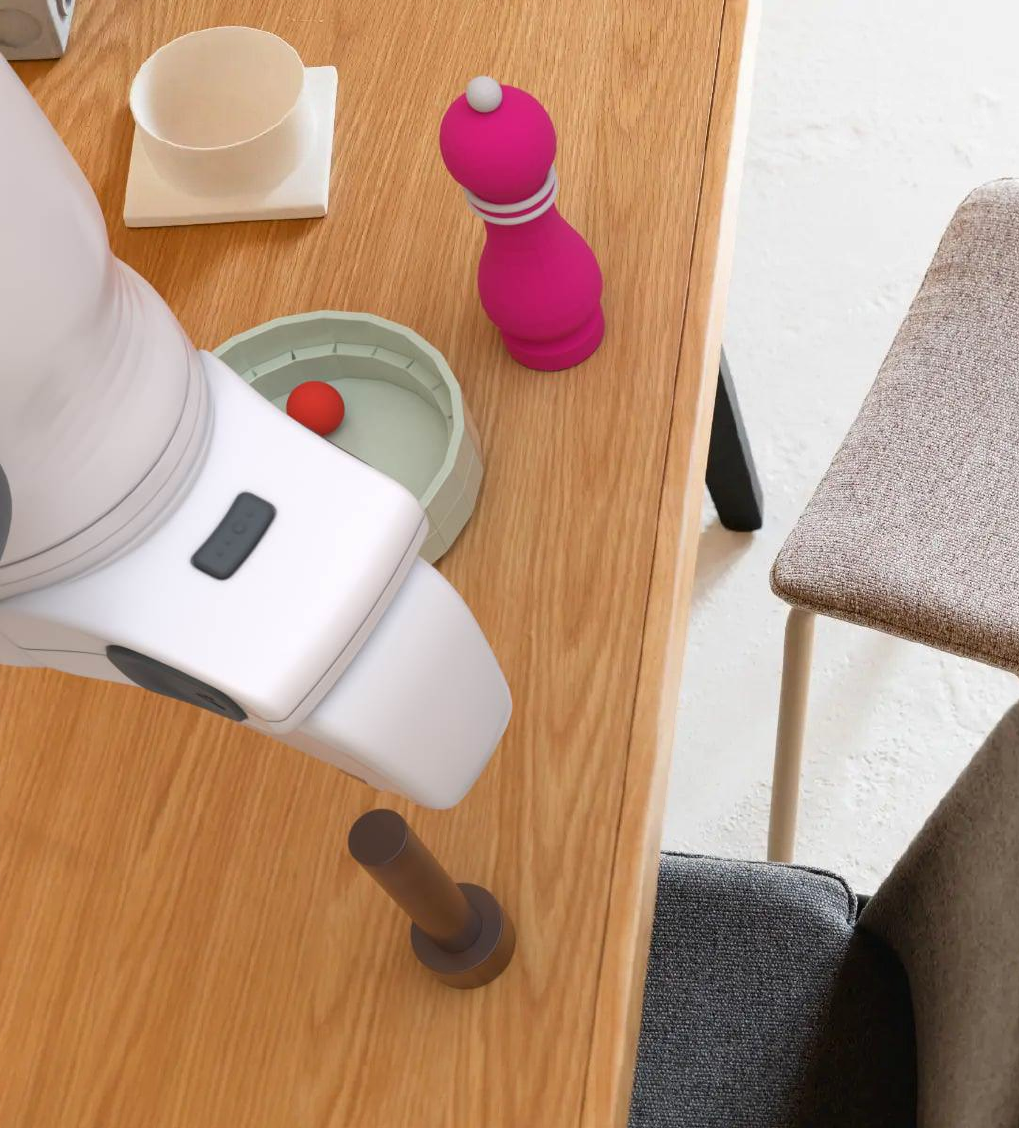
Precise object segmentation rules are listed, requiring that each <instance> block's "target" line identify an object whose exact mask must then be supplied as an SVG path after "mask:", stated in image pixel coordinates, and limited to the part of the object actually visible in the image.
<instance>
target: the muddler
mask: <svg viewBox="0 0 1019 1128" xmlns="http://www.w3.org/2000/svg"><path fill="white" fill-rule="evenodd" d="M347 848H348V850H349V853H350V855H351V856H352V858H353V859H354V861H356V863H358V864H359V866H361V867H362V868H363V870H364V871H365V872H366V873H367V874H368V875H369V876H370V877H371V878H372V879H373V880H374V881H375V882H376V883H377V884H378V885H379V887H381V888H382V890H383V891H384V892H385V893H386V894H387V895H388V896H389V898H391V899H392V900H393V902H395V904H397V906H398V907H399V908H400V909H401V910H402V911H403V912H404V913H405V914H406V915H407V916H408V917H409V919H411V925H410V932H409V933H410V935H409V936H410V944H411V948H412V950H413V952H414V955H415V956H416V958H417V959H418V961H419V962H420V963H421V964H422V965H423V966H424V967H425V968H426V969H427V970H428V971H429V972H430V973H431V974H432V975H433V976H434V977H435V978H436V979H437V980H438V981H440V982H441V983H443V984H444V985H445V986H448V987H451V988H455V989H457V990H458V989H459V990H473V989H478V988H480V987H483V986H485V985H488V984H490V983H491V982H493V981H494V980H496V979H497V978H498V977H499V976H500V975H501V974H502V973H503V972H504V971H505V970H506V968H507V967H508V965H509V964H510V962H511V961H512V958H513V956H514V953H515V948H516V940H517V938H516V937H517V936H516V929H515V926H514V923H513V921H512V919H511V917H510V916H509V914H508V913H507V912H506V911H505V909H504V908H503V907H502V906H501V904H500V902H499V901H498V900H497V899H496V897H495V895H493V894H492V893H491V892H490V891H489V890H487V889H486V888H484V887H483V886H480V885H477V884H475V883H470V882H455V880H453V879H452V877H451V876H450V874H449V873H448V872H447V871H446V869H444V867H443V866H442V864H441V863H440V862H439V861H438V860H437V858H436V857H435V856H434V854H432V852H431V851H430V850H429V848H428V847H427V846H426V845H425V843H424V842H423V841H422V839H421V838H420V837H419V835H418V834H417V833H416V832H415V831H414V829H413V828H412V827H411V826H410V824H409V823H408V822H407V821H406V819H405V818H404V817H403V815H401V814H400V813H398V812H397V811H395V810H394V809H390V808H377V809H372V810H369V811H367V812H365V813H364V814H362V815H361V816H360V817H359V818H358V819H356V821H354V823H352V826H351V828H350V830H349V832H348V837H347Z"/></svg>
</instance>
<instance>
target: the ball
mask: <svg viewBox="0 0 1019 1128" xmlns="http://www.w3.org/2000/svg"><path fill="white" fill-rule="evenodd" d="M286 412H287V415H288V416H290V417H291V418H293V419H294V420H296V421H298V422H300V423H302V424H303V425H305V426H307V427H308V428H310V429H311V430H313V431H315V432H316V433H318V434H319V435H321V436H324V435H327V434H329V433H331V432H333V431H334V430H336V429H337V428H338V427H339V425H340V424H341V422H342V420H343V418H344V413H345V406H344V401H343V399H342V397H341V395H340V394H339V392H338V391H337V390H336V389H335V388H334V387H332V386H331V385H329V384H327V383H324V382H320V381H309V382H305V383H302V384H300V385H299V386H297V387H296V388H295V389H294V390H293V391H292V392H291V393H290V395H289V397H288V400H287V404H286Z"/></svg>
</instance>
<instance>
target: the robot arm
mask: <svg viewBox="0 0 1019 1128" xmlns="http://www.w3.org/2000/svg"><path fill="white" fill-rule="evenodd" d="M211 352H212V351H209V350H207V349H203V348H201V349H198V350H197V348H196V346H195V345H194V344H193V342H192V341H191V339H190V338H189V336H188V334H187V333H186V331H185V329H184V328H183V326H182V325H181V323H180V322H179V320H178V318H177V317H176V315H175V314H174V313H173V311H172V309H171V308H170V306H169V304H168V303H167V302H166V301H165V299H164V298H163V297H162V296H161V294H159V292H158V291H157V290H156V289H155V288H154V287H153V286H152V284H150V282H148V280H146V279H145V278H144V277H143V276H142V275H141V274H140V273H138V272H137V271H136V270H135V269H133V268H132V267H131V266H130V265H129V264H128V263H125V262H124V261H123V260H121V259H120V258H119V257H117V256H116V255H115V254H114V253H113V251H112V249H111V246H110V240H109V235H108V231H107V224H106V221H105V218H104V214H103V211H102V208H101V205H100V203H99V201H98V198H97V196H96V194H95V191H94V188H92V186H91V184H90V182H89V180H88V179H87V177H86V175H85V173H84V172H83V170H82V169H81V166H79V164H78V162H77V161H76V160H75V158H74V156H73V155H72V153H71V152H70V150H69V149H68V147H67V146H66V144H65V142H64V141H63V139H62V138H61V136H60V135H59V134H58V132H57V131H56V129H55V128H54V126H53V124H52V123H51V121H50V120H49V118H48V117H47V116H46V114H45V112H44V111H43V110H42V108H41V107H40V106H39V104H38V102H37V101H36V99H35V98H34V97H33V95H32V94H31V93H30V91H29V89H28V88H27V86H26V85H25V84H24V82H23V81H22V79H21V78H20V77H19V75H18V73H16V71H15V70H14V69H13V67H12V66H11V64H10V63H9V62H8V60H7V59H6V58H5V56H4V54H3V53H2V52H1V51H0V665H4V666H9V667H10V666H11V667H18V668H31V669H32V668H33V669H34V668H49V669H52V670H56V671H59V672H62V673H65V674H70V675H73V676H78V677H82V678H88V679H92V680H99V681H104V682H105V681H106V682H110V683H111V682H112V683H116V684H123V685H128V686H132V687H137V688H141V689H144V690H146V691H149V692H152V693H154V694H157V695H160V696H164V697H167V698H170V699H174V700H177V701H179V702H183V703H186V704H189V705H193V706H195V707H197V708H200V709H203V710H206V711H209V712H211V713H213V714H215V715H216V714H217V715H218V716H221V717H223V718H225V719H228V720H231V721H233V722H235V723H237V724H239V725H241V726H244V727H246V728H248V729H251V730H252V731H255V732H256V733H260V734H262V735H264V736H266V737H268V738H270V739H273V740H276V742H279V743H281V744H283V745H285V746H288V747H290V748H293V749H295V750H296V751H300V752H301V753H304V754H306V755H308V756H310V757H313V758H314V759H316V760H319V761H321V762H324V763H326V764H328V765H331V766H333V767H335V768H336V769H338V770H339V769H340V772H341V773H342V774H344V775H345V776H348V777H350V778H352V779H354V780H356V781H358V782H361V783H362V784H365V785H367V786H370V787H372V788H373V789H375V790H377V791H380V792H386V791H388V792H389V793H390V792H391V793H393V794H395V795H397V796H399V797H402V798H403V799H405V800H407V801H409V802H411V803H412V804H415V805H417V806H419V807H422V808H424V809H427V810H431V811H444V810H450V809H453V808H454V807H456V806H457V805H458V804H459V803H461V802H462V800H463V799H464V798H465V797H467V795H468V793H469V792H470V790H471V789H472V788H473V786H474V784H476V782H477V780H478V779H479V777H480V776H481V775H482V773H483V771H484V770H485V768H486V766H487V765H488V763H489V762H490V759H491V758H492V756H493V754H494V753H495V751H496V749H497V747H498V746H499V743H500V741H501V739H502V738H503V736H504V734H505V732H506V730H507V728H508V725H509V722H510V720H511V717H512V712H513V697H512V695H511V690H510V687H509V685H508V682H507V680H506V677H505V675H504V673H503V671H502V668H501V666H500V664H499V661H498V659H497V658H496V656H495V653H494V651H493V649H492V648H491V645H490V644H489V642H488V639H487V638H486V636H485V634H484V632H483V630H482V629H481V626H480V625H479V623H478V621H477V619H476V618H475V616H474V614H473V612H472V610H471V609H470V607H469V606H468V605H467V603H466V602H465V600H464V598H463V597H462V596H461V594H459V592H458V591H457V590H456V588H455V587H454V585H452V584H451V583H450V581H448V579H447V578H446V577H445V576H444V575H443V574H442V573H441V572H440V571H439V570H438V569H437V568H435V567H434V566H433V564H432V565H430V564H429V563H428V562H427V561H425V560H424V559H423V558H421V557H420V556H419V555H417V554H418V552H419V550H420V548H421V546H422V544H423V542H424V540H425V538H426V536H427V533H428V531H429V522H428V519H427V516H426V514H425V512H424V510H423V508H422V506H421V505H420V503H419V502H418V500H417V499H416V498H415V496H414V495H413V494H412V493H411V492H410V491H409V490H408V489H406V488H405V487H404V486H403V485H401V484H400V483H398V482H397V481H395V480H394V479H392V478H390V477H389V476H387V475H385V474H384V473H382V472H380V471H378V470H376V469H375V468H373V467H372V466H371V465H369V464H368V463H366V462H364V461H363V460H361V459H359V458H357V457H356V456H354V455H352V454H351V453H349V452H347V451H345V450H344V449H342V448H340V447H339V446H337V445H335V444H334V443H332V442H331V441H329V440H327V439H326V438H324V437H323V436H321V435H319V434H318V433H316V432H315V431H313V430H311V429H310V428H308V427H307V426H305V425H303V424H302V423H300V422H298V421H296V420H294V419H293V418H291V417H290V416H288V415H287V414H285V413H284V412H283V411H281V410H280V409H279V408H277V407H276V406H275V405H273V404H272V403H271V402H269V401H268V400H267V399H266V398H264V397H263V396H262V395H261V394H259V393H258V392H257V391H256V390H255V389H254V388H252V387H251V386H250V385H249V384H248V383H247V382H246V381H244V380H243V379H242V378H241V377H240V376H239V375H238V374H237V373H236V372H235V371H233V370H232V369H231V368H230V367H229V366H228V365H227V364H225V363H224V362H223V361H222V360H220V359H219V358H218V357H216V356H215V355H214V354H212V353H211Z"/></svg>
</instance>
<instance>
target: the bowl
mask: <svg viewBox="0 0 1019 1128" xmlns="http://www.w3.org/2000/svg"><path fill="white" fill-rule="evenodd" d="M210 352H211V353H212V354H214V355H215V356H216V357H218V358H219V359H220V360H222V361H223V362H224V363H225V364H227V365H228V366H229V367H230V368H231V369H232V370H233V371H235V372H236V373H237V374H238V375H239V376H240V377H241V378H242V379H243V380H244V381H246V382H247V383H248V384H249V385H250V386H251V387H252V388H254V389H255V390H256V391H257V392H258V393H259V394H261V395H262V396H263V397H264V398H266V399H267V400H268V401H269V402H271V403H272V404H273V405H275V406H276V407H277V408H279V409H280V410H281V411H283V412H284V413H285V414H287V412H286V404H287V400H288V397H289V395H290V393H291V392H292V391H293V390H294V389H295V388H296V387H297V386H299V385H300V384H302V383H305V382H309V381H320V382H324V383H327V384H329V385H331V386H332V387H334V388H335V389H336V390H337V391H338V392H339V394H340V395H341V397H342V399H343V401H344V406H345V413H344V418H343V420H342V422H341V424H340V425H339V427H338V428H337V429H336V430H334V431H333V432H331V433H329V434H327V435H324V436H323V437H324V438H326V439H327V440H329V441H331V442H332V443H334V444H335V445H337V446H339V447H340V448H342V449H344V450H345V451H347V452H349V453H351V454H352V455H354V456H356V457H357V458H359V459H361V460H363V461H364V462H366V463H368V464H369V465H371V466H372V467H373V468H375V469H376V470H378V471H380V472H382V473H384V474H385V475H387V476H389V477H390V478H392V479H394V480H395V481H397V482H398V483H400V484H401V485H403V486H404V487H405V488H406V489H408V490H409V491H410V492H411V493H412V494H413V495H414V496H415V498H416V499H417V500H418V502H419V503H420V505H421V506H422V508H423V510H424V512H425V514H426V516H427V519H428V522H429V531H428V533H427V536H426V538H425V540H424V542H423V544H422V546H421V548H420V550H419V552H418V554H417V555H419V556H420V557H421V558H423V559H424V560H425V561H427V562H428V563H429V564H430V565H432V566H433V564H434V563H436V561H438V560H439V559H440V558H442V557H443V556H444V555H445V554H446V553H447V552H448V551H449V550H450V548H451V547H452V545H453V544H454V543H455V541H456V540H457V538H458V536H459V535H460V533H461V531H462V530H463V529H464V527H465V525H466V524H467V523H468V521H469V519H470V518H471V516H472V515H473V512H474V511H475V507H476V503H477V498H478V494H479V491H480V488H481V483H482V479H483V477H484V471H485V470H484V462H483V453H482V443H481V435H480V432H479V429H478V427H477V424H476V422H475V420H474V417H473V415H472V413H471V410H470V407H469V404H468V402H467V400H466V398H465V394H464V393H463V389H462V388H461V385H460V383H459V382H458V380H457V378H456V376H455V374H454V373H453V371H452V369H451V367H450V366H449V363H448V362H447V360H446V358H445V357H444V355H443V354H442V352H441V351H440V350H438V349H437V348H436V347H434V346H433V345H432V344H431V343H429V341H428V340H426V339H425V338H423V337H422V336H421V335H420V334H419V333H417V332H416V331H415V330H413V329H412V328H410V327H408V326H406V325H403V324H402V323H401V324H400V323H398V322H395V321H392V320H390V319H386V318H384V317H381V316H379V315H376V314H373V313H369V312H358V311H357V312H356V311H343V310H334V309H333V310H332V309H320V310H314V311H307V312H303V313H297V314H291V315H286V316H281V317H280V316H279V317H276V318H273V319H271V320H269V321H266V322H264V323H262V324H259V325H257V326H255V327H252V328H250V329H248V330H245V331H242V332H240V333H238V334H235V335H234V336H231V337H229V338H228V339H227V340H226V341H224V342H223V343H222V344H221V343H220V344H219V345H218V346H217V347H215V349H213V350H212V351H210Z"/></svg>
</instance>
